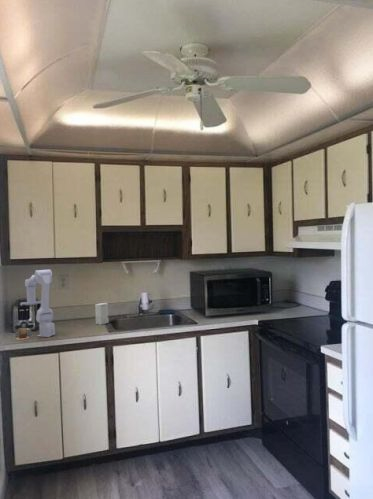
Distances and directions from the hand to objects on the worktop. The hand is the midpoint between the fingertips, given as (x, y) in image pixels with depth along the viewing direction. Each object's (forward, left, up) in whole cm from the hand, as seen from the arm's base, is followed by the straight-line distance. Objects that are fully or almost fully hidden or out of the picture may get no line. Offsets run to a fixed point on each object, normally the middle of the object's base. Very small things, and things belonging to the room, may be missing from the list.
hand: (32, 314), depth 289 cm
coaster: (-10, +22, -10) cm, 26 cm away
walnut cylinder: (-10, +22, -10) cm, 26 cm away
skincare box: (-40, -28, -11) cm, 50 cm away
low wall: (-6, +17, -10) cm, 20 cm away
